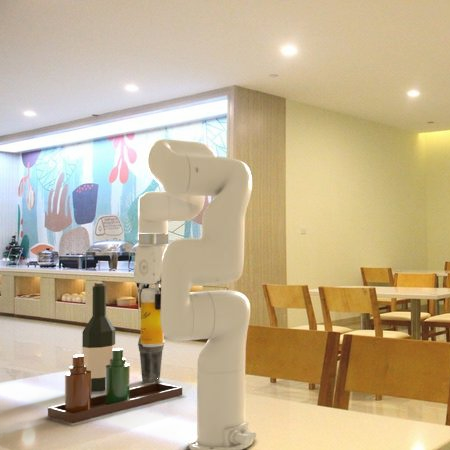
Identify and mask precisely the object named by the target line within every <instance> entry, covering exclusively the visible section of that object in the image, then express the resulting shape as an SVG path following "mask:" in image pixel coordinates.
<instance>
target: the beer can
mask: <svg viewBox="0 0 450 450" xmlns="http://www.w3.org/2000/svg"><path fill="white" fill-rule="evenodd" d="M155 294H157V291H156V287H150V288H146V289H142V292H141V308H140V336H141V341H140V343H141V344H142V345H143V347H157V346H162V345H163V343H164V344H165V342H166V337H165V336H164V334H163V331H162V327H161V309H159V310H156V309H155Z"/></svg>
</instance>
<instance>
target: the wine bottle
mask: <svg viewBox="0 0 450 450" xmlns="http://www.w3.org/2000/svg"><path fill="white" fill-rule="evenodd" d="M93 284H94V285H92V316H91V318H90V319H89V321H88V322H87V324H86V326H85V327H84V329H83V330H82V338H81V339H82V343H81V344H82V345H81V347H82V349H81V350H82V353H81V355H84V365H87V370H89V371H91V393H94V392H105V367H106V366H107V365H110V359H112V350H113V349H116V327H115V326H114V324H113V323H112V322H111V320H110V319H109V318H108V316H107V285H105V282H94V283H93Z"/></svg>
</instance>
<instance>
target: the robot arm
mask: <svg viewBox="0 0 450 450" xmlns="http://www.w3.org/2000/svg"><path fill="white" fill-rule="evenodd" d="M146 165H147V169H148V172H149V174H150V175H151V178H153V179H154V180H155V182H156V183H158V184H159V186H160V187H161V188H162V189H163V190H164V191H146V192H144V193H143V194H141V195H140V196H139V197H138V201H137V210H138V211H137V245H136V249H135V255H134V266H133V282H135V284H136V287H137V293H138V296H139V297H138V298H139V299H138V303H139V304H138V306H139V307H138V308H139V309H141V292H142V289H146V288H152V284H153V285H154V286H155V287H154V288H156V291H157V294H155V309H156V310H159V309H161V327H162V331H163V334H164V336H165V339H167V340H169V341H172V342H188V341H189V342H190V341H198V340H207V341H206V343H205V344H204V346H203V347H202V349H201V350H200V352H199V355H198V358H197V367H196V369H197V370H196V371H197V372H196V373H197V374H196V378H197V381H196V384H197V385H196V387H197V388H196V392H197V393H196V435H195V436H193V437H192V438H191V439H190V440H189V442H188V448H189V450H245V449H246V448H249V447H250V446H251V445H252V444H253V442H254V440H255V439H256V438H257V432H255V431H251V430H249V422H246V361H247V359H246V356H247V355H246V354H247V351H246V350H247V338H248V330H249V325H250V319H251V303H250V300H249V298H248V297H247V296H246V295H245V294H243V293H242V292H240V291H237V290H232V289H218V290H216V289H215V290H204V291H191V288H192V287H193V286H210V285H211V286H212V285H223V284H225V285H226V284H231V283H235V282H237V281H238V280H240V278H241V277H242V275H243V272H244V265H245V235H246V234H245V233H246V232H245V231H246V230H245V226H246V225H245V223H246V214H247V209H248V205H249V203H250V200H251V196H252V191H253V177H252V172H251V170H250V166H248V164H246V162H244V161H242V160H240V159H237V158H234V157H227V156H217V154H216V152H215V151H214V149H213V148H211V146H209V145H207V144H205V143H202V142H197V141H187V140H179V139H178V140H177V139H167V138H166V139H165V138H164V139H159V140H157V141H155V142H154V143H153V144H152V145H151V146H150V148H149V150H148V153H147V157H146ZM206 197H213V199H212V200H210V202H209V203H208V204H207V206H206V208H205V209H204V206H205V201H206ZM203 209H204V210H203ZM202 211H203V212H202ZM201 212H202V217H201V233H200V234H201V235H200V236H199V237H180V238H175V239H173V240H171V241H170V242H169V222H189V221H192V220H194V219H195V218H196V217H197V216H198V215H199V214H200V213H201Z"/></svg>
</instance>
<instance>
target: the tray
mask: <svg viewBox="0 0 450 450" xmlns="http://www.w3.org/2000/svg"><path fill="white" fill-rule="evenodd" d="M182 395H183V387H182V386H177V385H173V384H168V383H164V382H160V381H159V382H157V383H155V382H153V383H148V384H145V385H141V386H136V387H131V388H129V400H125V401H121V402H117V403H113V404H109V405H105V394H102V395H101V394H100V395H97V396H91V409H89V410H84V411H80V412H76V413H71V412H67V411H65V403H62V404H57V405H53V406H49V407H47V417H49V418H52V419H55V420H59V421H63V422H66V423H69V424H76V423H80V422H83V421H88V420H91V419H95V418H99V417H103V416H108V415H110V414H115V413H118V412H122V411H125V410H130V409H134V408H138V407H141V406H145V405H149V404H153V403H157V402H160V401H164V400H169V399H172V398H177V397H180V396H182Z"/></svg>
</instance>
